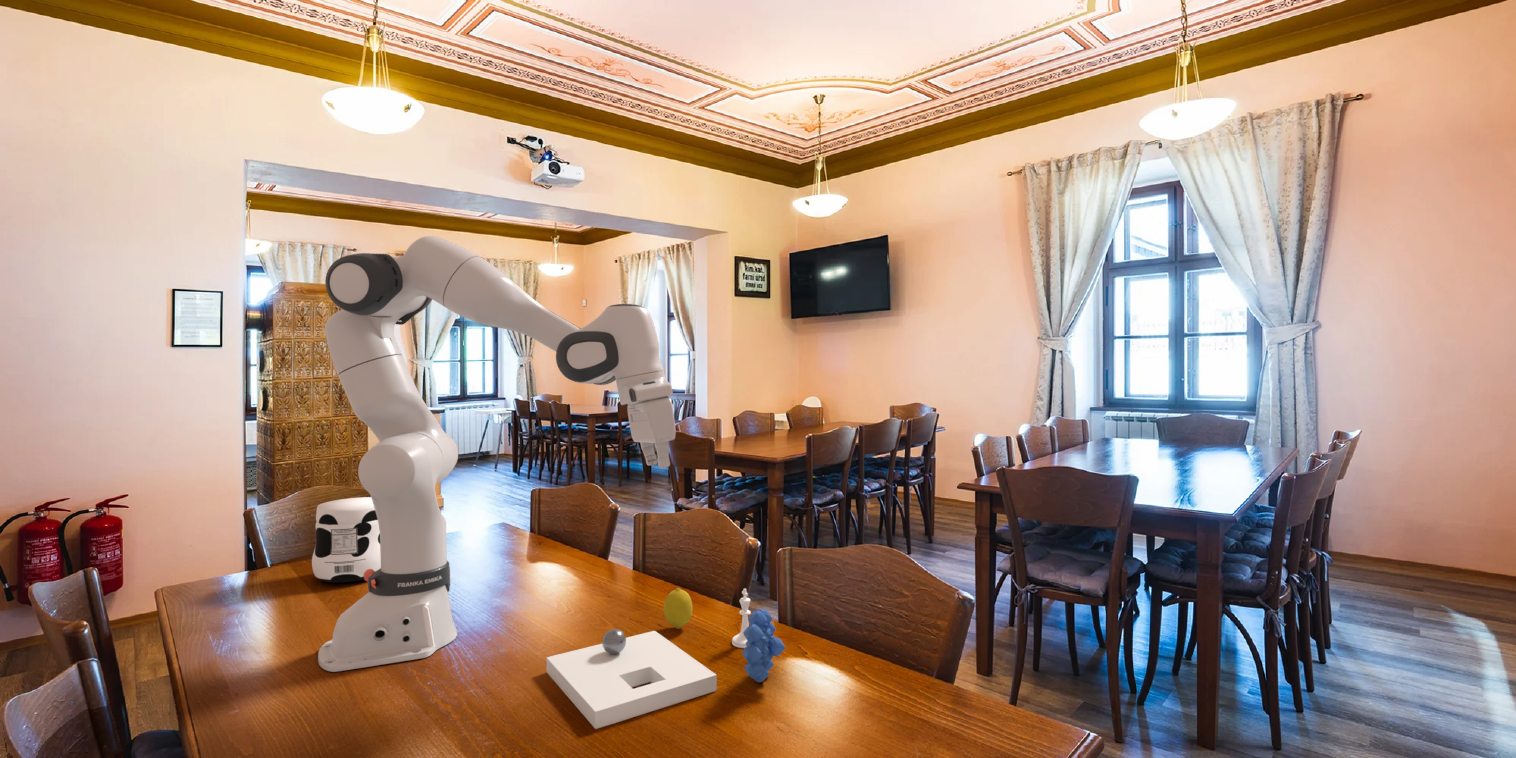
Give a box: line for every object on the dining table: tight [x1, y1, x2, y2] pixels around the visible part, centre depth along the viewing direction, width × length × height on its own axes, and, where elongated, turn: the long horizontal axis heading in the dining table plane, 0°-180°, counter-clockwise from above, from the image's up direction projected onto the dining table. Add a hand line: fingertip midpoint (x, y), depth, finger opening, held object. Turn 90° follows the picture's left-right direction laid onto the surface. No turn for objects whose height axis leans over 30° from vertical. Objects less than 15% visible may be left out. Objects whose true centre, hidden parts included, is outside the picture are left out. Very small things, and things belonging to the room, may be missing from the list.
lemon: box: [663, 587, 693, 630], centre depth 135 cm, size 6×6×8 cm
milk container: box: [311, 496, 381, 583], centre depth 168 cm, size 17×17×18 cm
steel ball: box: [601, 628, 627, 654], centre depth 117 cm, size 4×4×4 cm
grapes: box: [741, 608, 786, 683], centre depth 112 cm, size 12×7×12 cm, turn 164°
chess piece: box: [731, 588, 752, 649], centre depth 128 cm, size 5×5×10 cm
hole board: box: [545, 630, 718, 730], centre depth 113 cm, size 20×22×2 cm
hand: (658, 466), depth 125 cm, fingers open, 8 cm apart
